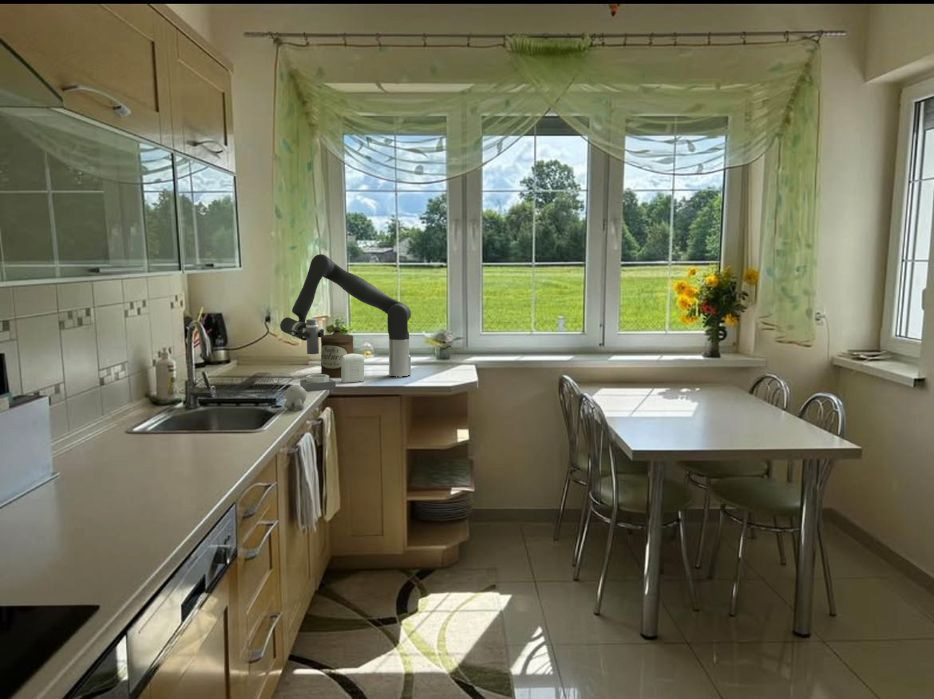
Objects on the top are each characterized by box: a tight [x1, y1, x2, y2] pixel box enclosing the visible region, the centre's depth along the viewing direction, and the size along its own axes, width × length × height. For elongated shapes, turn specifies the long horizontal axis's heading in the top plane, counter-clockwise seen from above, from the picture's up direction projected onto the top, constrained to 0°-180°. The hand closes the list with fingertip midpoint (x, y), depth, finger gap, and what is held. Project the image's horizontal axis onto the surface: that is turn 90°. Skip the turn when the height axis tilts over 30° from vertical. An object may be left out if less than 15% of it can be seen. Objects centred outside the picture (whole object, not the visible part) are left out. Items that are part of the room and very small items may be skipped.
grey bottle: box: [305, 318, 320, 355], centre depth 266 cm, size 5×5×14 cm
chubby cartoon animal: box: [283, 384, 307, 411], centre depth 227 cm, size 7×12×8 cm, turn 176°
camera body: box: [299, 373, 337, 392], centre depth 263 cm, size 12×9×5 cm
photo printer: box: [340, 353, 365, 384], centre depth 278 cm, size 10×4×12 cm, turn 123°
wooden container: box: [320, 326, 355, 379], centre depth 294 cm, size 15×15×22 cm
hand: (314, 335), depth 264 cm, fingers closed on grey bottle, 4 cm apart
